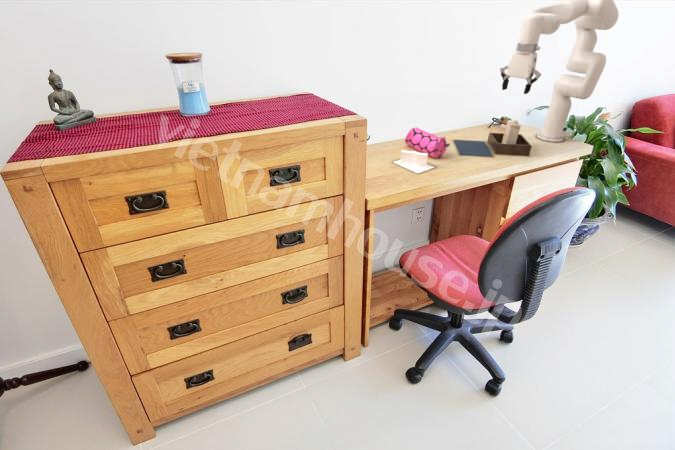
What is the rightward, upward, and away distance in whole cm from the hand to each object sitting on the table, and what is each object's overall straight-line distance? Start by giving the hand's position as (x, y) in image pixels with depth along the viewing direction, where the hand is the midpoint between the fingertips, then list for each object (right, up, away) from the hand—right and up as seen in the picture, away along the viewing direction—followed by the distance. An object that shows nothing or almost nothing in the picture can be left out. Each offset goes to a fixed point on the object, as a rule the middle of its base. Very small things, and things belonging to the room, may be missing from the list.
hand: (514, 91), depth 162 cm
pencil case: (-36, -23, +16) cm, 46 cm away
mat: (-11, -21, +20) cm, 31 cm away
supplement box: (+6, -21, +21) cm, 30 cm away
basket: (+6, -21, +20) cm, 30 cm away
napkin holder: (-44, -32, +2) cm, 54 cm away
